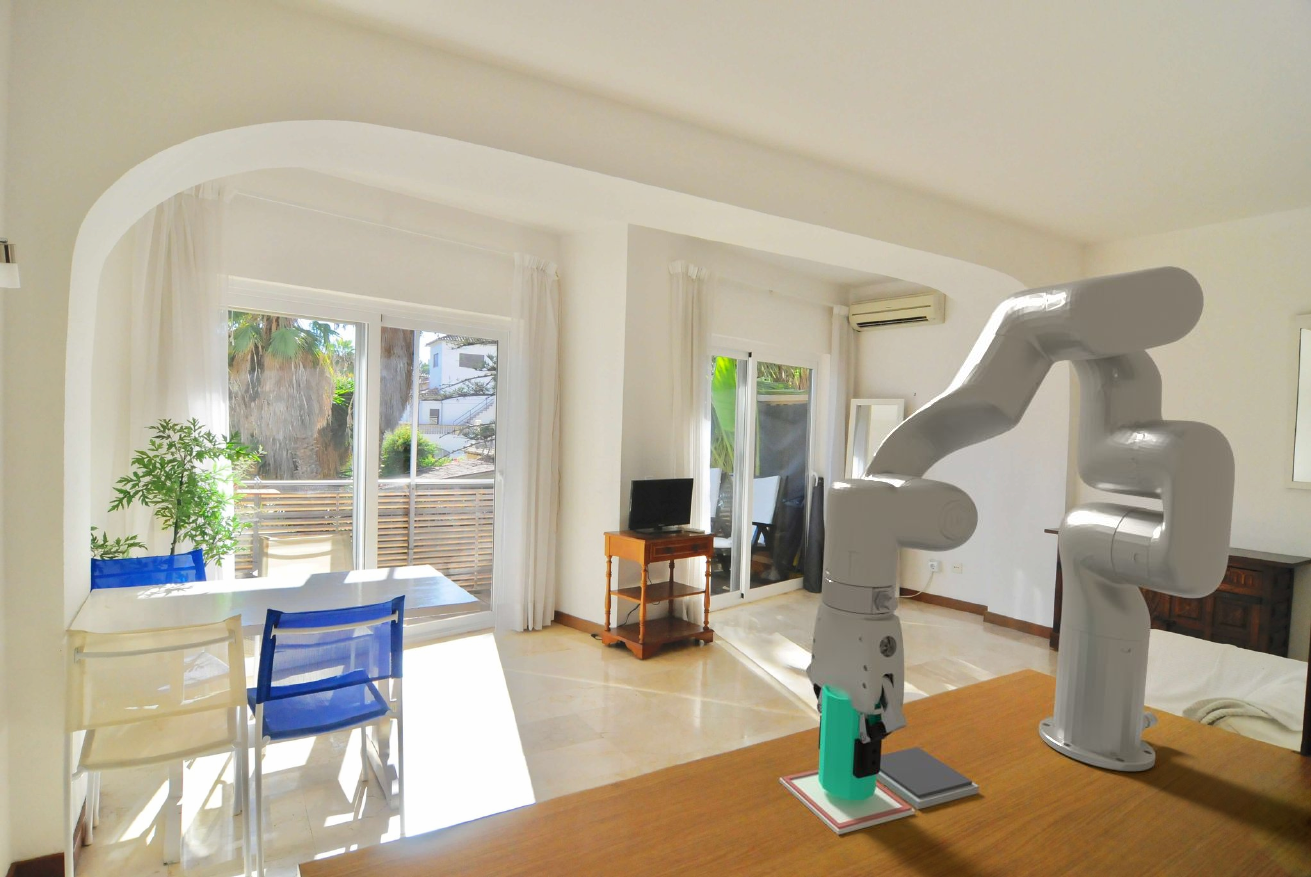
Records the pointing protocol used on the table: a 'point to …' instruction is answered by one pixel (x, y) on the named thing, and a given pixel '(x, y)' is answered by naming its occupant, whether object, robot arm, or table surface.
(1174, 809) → the table surface
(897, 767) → the ink pad
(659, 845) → the table surface
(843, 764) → the candle
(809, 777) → the marked card
